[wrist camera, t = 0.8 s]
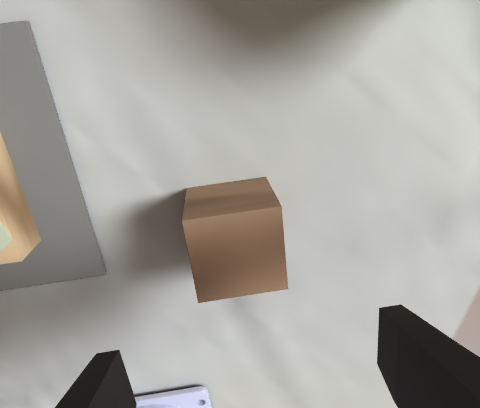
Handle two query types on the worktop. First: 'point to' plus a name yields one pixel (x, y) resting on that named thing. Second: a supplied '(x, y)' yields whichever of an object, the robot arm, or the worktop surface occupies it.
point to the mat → (42, 170)
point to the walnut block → (235, 239)
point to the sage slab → (4, 237)
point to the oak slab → (14, 213)
